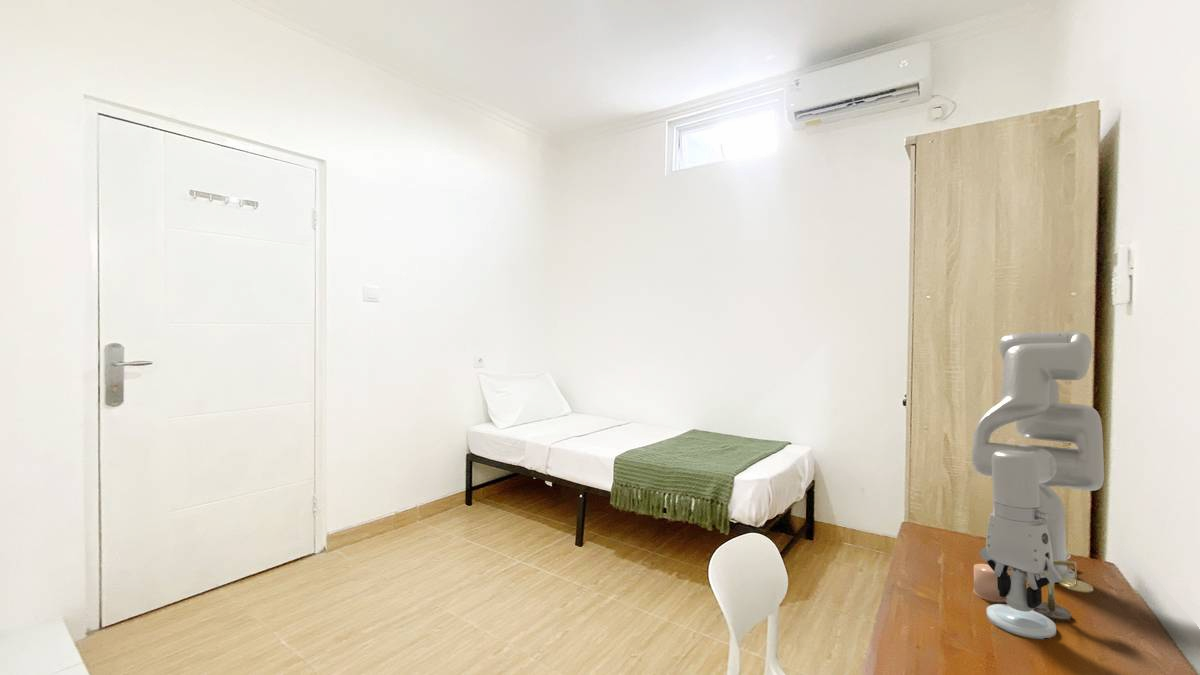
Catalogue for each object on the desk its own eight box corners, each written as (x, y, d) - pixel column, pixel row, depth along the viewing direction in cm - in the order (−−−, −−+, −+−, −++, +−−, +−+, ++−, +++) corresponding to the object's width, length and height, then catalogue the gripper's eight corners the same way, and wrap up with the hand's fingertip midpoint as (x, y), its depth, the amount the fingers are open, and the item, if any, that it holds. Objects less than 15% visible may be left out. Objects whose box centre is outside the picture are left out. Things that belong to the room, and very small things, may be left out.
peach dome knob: (983, 586, 120) (982, 561, 120) (1014, 598, 114) (1013, 571, 114) (967, 592, 117) (966, 566, 117) (998, 605, 111) (997, 578, 111)
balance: (1021, 596, 115) (1019, 541, 115) (1100, 625, 102) (1098, 564, 103) (1007, 602, 112) (1004, 546, 112) (1086, 633, 100) (1083, 570, 100)
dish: (1004, 604, 111) (1004, 598, 111) (1067, 629, 101) (1067, 623, 101) (975, 617, 107) (975, 611, 107) (1038, 644, 97) (1038, 637, 97)
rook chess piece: (1038, 613, 101) (1037, 573, 101) (1013, 611, 102) (1012, 571, 102) (1025, 602, 106) (1023, 563, 106) (1000, 600, 107) (999, 562, 107)
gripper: (1077, 521, 98) (1080, 615, 98) (981, 498, 114) (984, 580, 113) (1057, 527, 95) (1061, 625, 95) (961, 503, 110) (964, 587, 110)
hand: (1019, 599), depth 104 cm, fingers closed on rook chess piece, 4 cm apart
